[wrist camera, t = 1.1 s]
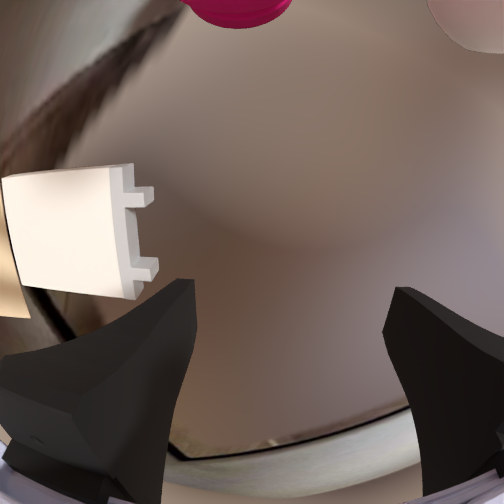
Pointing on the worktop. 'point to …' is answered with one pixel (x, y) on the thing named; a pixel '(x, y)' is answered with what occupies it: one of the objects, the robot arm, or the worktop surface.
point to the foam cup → (471, 23)
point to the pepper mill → (238, 11)
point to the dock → (9, 277)
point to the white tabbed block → (79, 230)
